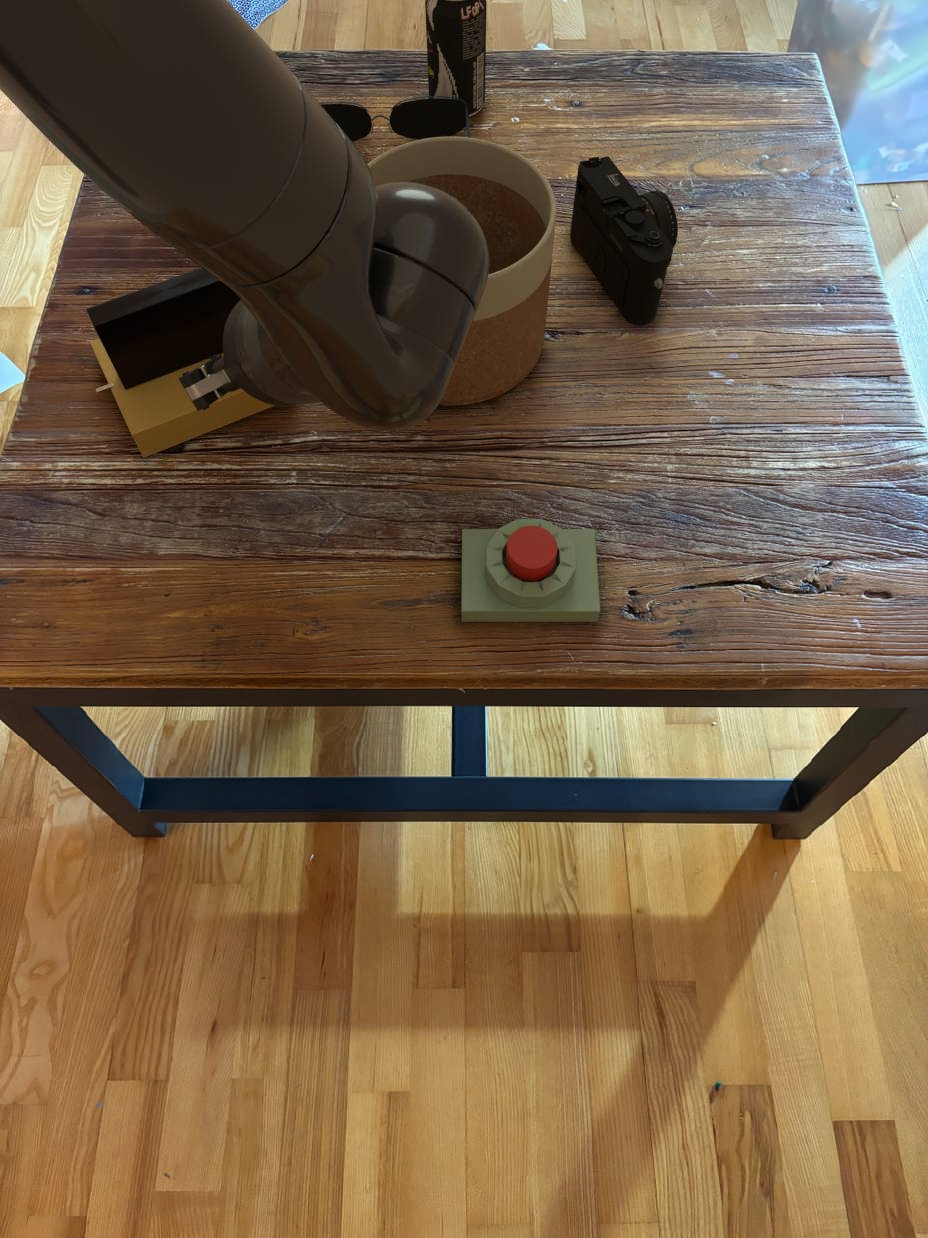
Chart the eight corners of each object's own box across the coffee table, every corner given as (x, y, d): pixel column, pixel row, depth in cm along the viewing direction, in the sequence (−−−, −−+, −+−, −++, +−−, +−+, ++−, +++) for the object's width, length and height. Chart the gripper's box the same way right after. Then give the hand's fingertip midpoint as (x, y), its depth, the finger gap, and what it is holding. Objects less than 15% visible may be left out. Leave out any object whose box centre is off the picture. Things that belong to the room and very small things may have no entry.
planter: (401, 256, 85) (389, 116, 72) (566, 299, 82) (583, 161, 70) (332, 382, 78) (306, 251, 66) (509, 433, 75) (517, 306, 63)
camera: (702, 310, 81) (724, 236, 74) (631, 335, 80) (646, 262, 73) (624, 209, 87) (638, 131, 80) (557, 231, 86) (565, 154, 79)
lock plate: (130, 463, 74) (117, 438, 72) (89, 371, 79) (75, 344, 76) (314, 390, 78) (308, 364, 75) (265, 305, 82) (258, 277, 79)
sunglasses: (468, 135, 92) (468, 92, 88) (479, 254, 87) (480, 214, 83) (296, 145, 92) (287, 102, 87) (298, 264, 87) (289, 225, 82)
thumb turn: (125, 390, 74) (92, 323, 67) (117, 373, 75) (84, 306, 68) (264, 337, 76) (245, 268, 70) (255, 321, 77) (235, 251, 71)
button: (506, 580, 66) (507, 568, 64) (505, 537, 67) (506, 525, 66) (556, 581, 66) (558, 568, 64) (554, 538, 67) (556, 525, 66)
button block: (461, 621, 68) (461, 599, 64) (462, 540, 71) (461, 515, 68) (597, 622, 68) (603, 599, 64) (592, 540, 71) (597, 515, 68)
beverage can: (430, 88, 96) (426, -37, 85) (485, 90, 96) (487, -36, 85) (427, 124, 93) (422, -1, 83) (484, 125, 93) (485, 1, 82)
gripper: (357, 234, 57) (286, 277, 72) (169, 334, 53) (136, 356, 68) (413, 348, 59) (333, 365, 75) (237, 449, 56) (191, 445, 71)
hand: (239, 361), depth 72 cm, fingers closed
